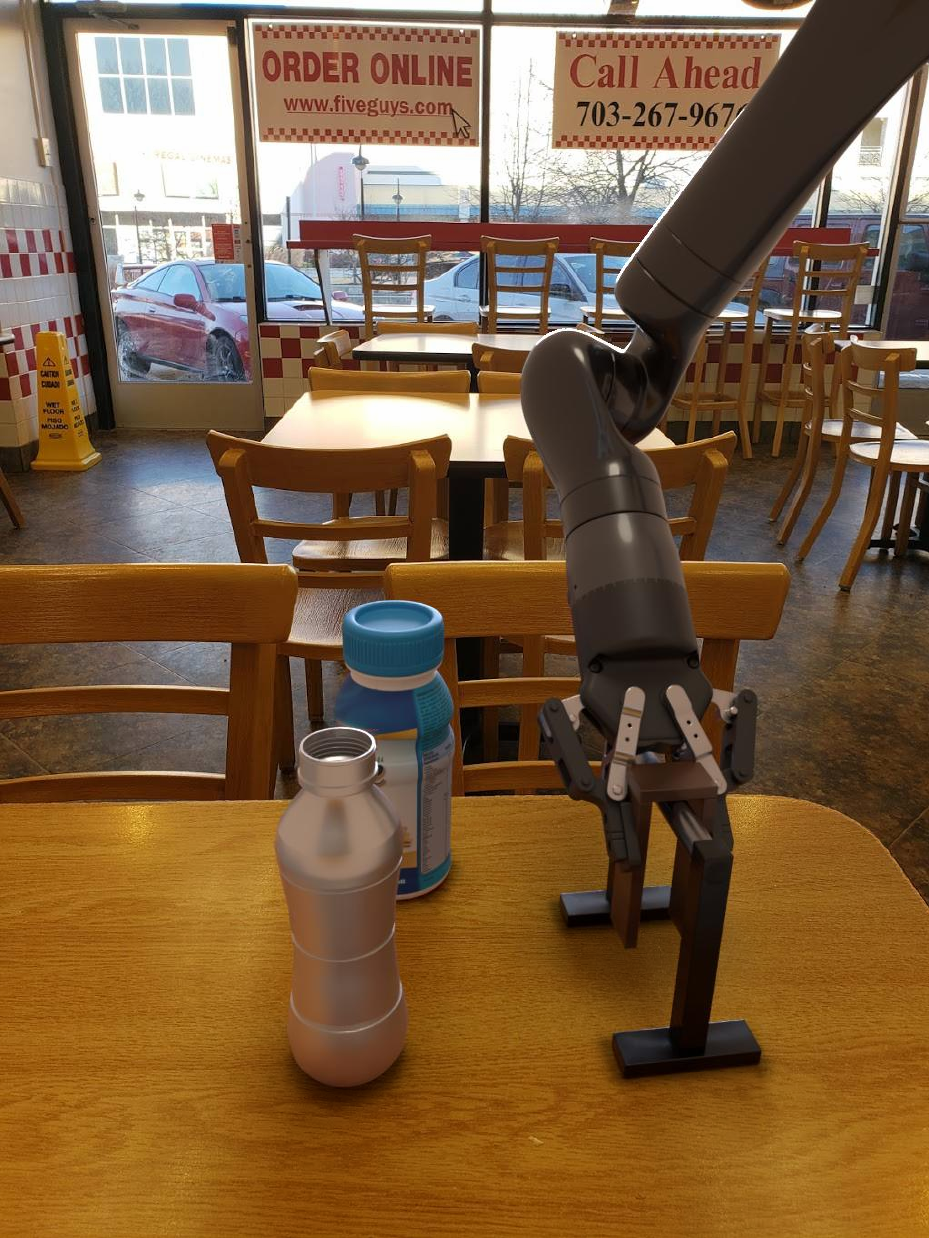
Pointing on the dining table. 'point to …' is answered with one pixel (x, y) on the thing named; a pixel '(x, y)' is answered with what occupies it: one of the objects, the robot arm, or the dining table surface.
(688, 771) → the two-legged arch bridge
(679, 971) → the rack
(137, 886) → the dining table surface
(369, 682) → the beverage bottle
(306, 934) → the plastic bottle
